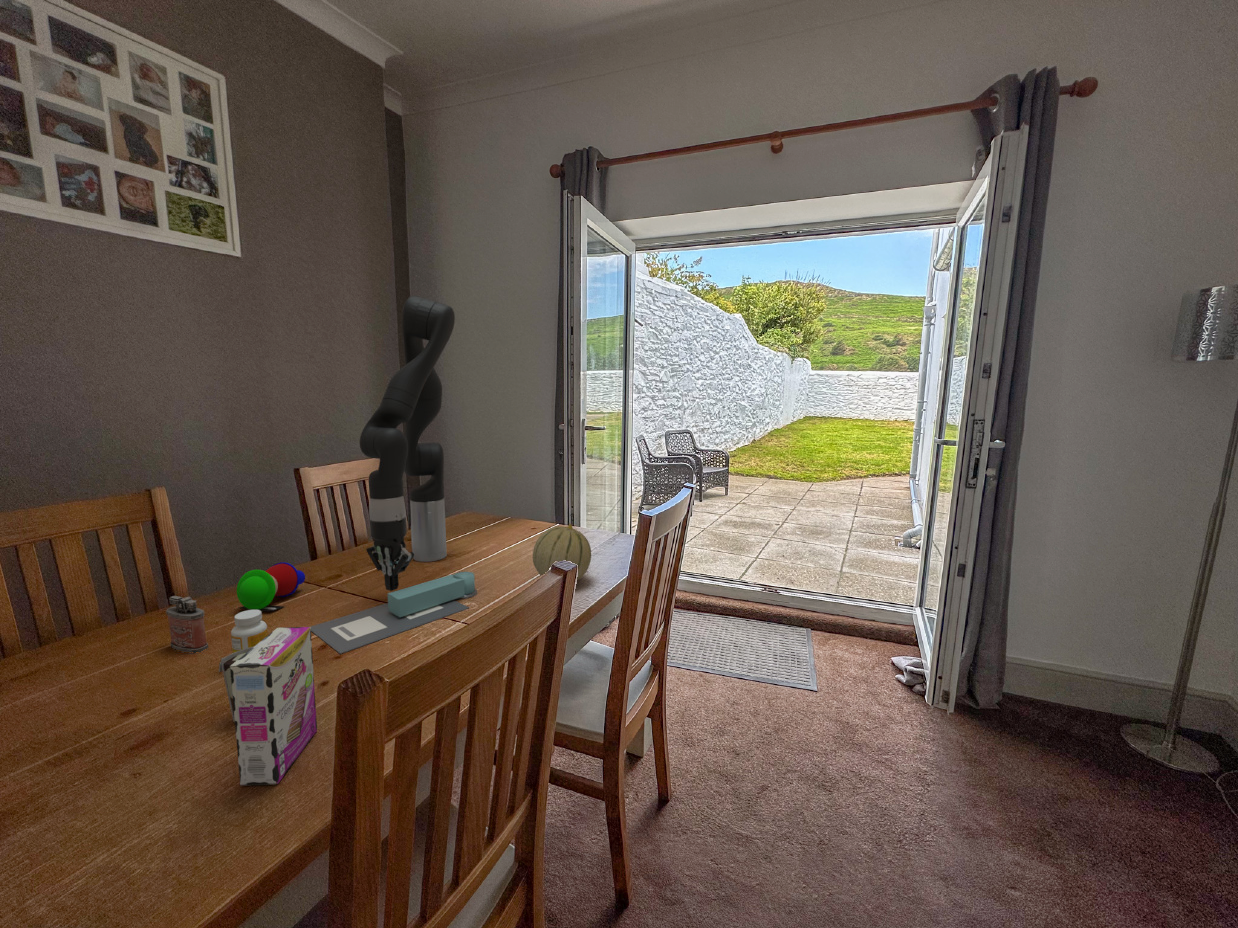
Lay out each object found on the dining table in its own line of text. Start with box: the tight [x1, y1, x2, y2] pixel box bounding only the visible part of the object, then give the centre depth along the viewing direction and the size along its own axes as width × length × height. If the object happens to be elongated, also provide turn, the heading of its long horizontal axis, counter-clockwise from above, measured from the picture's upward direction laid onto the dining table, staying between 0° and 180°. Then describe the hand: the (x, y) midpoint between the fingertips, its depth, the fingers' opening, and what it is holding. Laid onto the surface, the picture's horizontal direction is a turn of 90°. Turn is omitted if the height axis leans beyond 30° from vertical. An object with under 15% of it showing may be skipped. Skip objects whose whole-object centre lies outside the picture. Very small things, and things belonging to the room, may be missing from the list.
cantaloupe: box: [532, 523, 592, 581], centre depth 138 cm, size 15×15×15 cm
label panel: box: [310, 599, 470, 655], centre depth 118 cm, size 16×28×1 cm, turn 139°
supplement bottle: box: [230, 609, 269, 653], centre depth 97 cm, size 5×5×10 cm
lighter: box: [165, 595, 209, 654], centre depth 103 cm, size 8×3×10 cm, turn 71°
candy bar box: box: [230, 626, 318, 787], centre depth 73 cm, size 11×5×16 cm, turn 5°
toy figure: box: [236, 561, 306, 612], centre depth 125 cm, size 9×10×15 cm
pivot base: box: [455, 588, 478, 600], centre depth 131 cm, size 6×6×1 cm
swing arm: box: [387, 571, 476, 617], centre depth 125 cm, size 5×20×4 cm, turn 139°
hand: (392, 589), depth 125 cm, fingers closed
